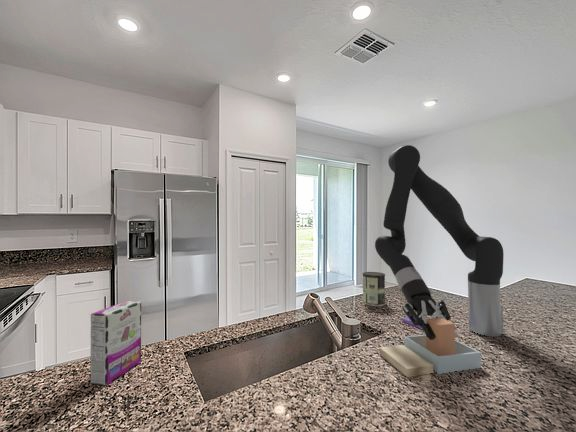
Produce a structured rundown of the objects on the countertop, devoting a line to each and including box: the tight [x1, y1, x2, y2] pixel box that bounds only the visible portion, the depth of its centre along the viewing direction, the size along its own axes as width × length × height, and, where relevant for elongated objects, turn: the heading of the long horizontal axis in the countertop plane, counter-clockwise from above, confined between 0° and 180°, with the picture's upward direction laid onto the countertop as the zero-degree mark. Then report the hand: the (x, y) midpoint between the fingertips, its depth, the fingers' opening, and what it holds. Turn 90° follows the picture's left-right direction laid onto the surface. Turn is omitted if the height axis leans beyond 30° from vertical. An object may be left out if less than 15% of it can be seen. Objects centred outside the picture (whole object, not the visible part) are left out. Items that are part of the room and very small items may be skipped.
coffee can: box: [362, 271, 386, 307], centre depth 129 cm, size 10×10×14 cm
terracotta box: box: [426, 317, 456, 356], centre depth 76 cm, size 5×5×10 cm
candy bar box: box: [89, 300, 142, 386], centre depth 68 cm, size 11×5×16 cm, turn 168°
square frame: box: [403, 333, 482, 375], centre depth 76 cm, size 13×13×4 cm
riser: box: [379, 344, 434, 378], centre depth 73 cm, size 8×12×2 cm, turn 14°
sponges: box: [402, 316, 423, 330], centre depth 101 cm, size 7×13×2 cm, turn 25°
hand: (441, 337), depth 75 cm, fingers closed on terracotta box, 5 cm apart
